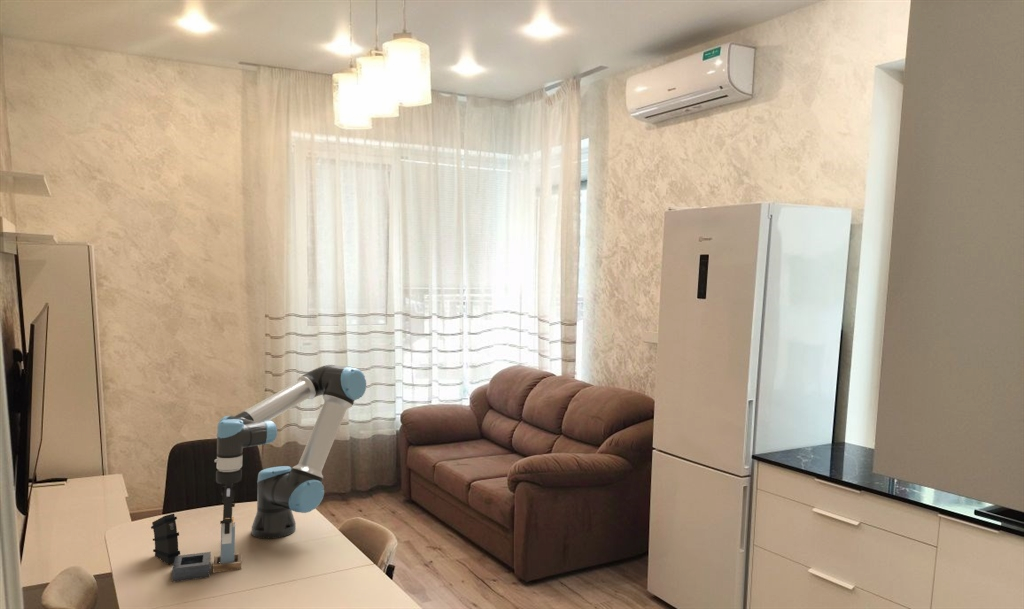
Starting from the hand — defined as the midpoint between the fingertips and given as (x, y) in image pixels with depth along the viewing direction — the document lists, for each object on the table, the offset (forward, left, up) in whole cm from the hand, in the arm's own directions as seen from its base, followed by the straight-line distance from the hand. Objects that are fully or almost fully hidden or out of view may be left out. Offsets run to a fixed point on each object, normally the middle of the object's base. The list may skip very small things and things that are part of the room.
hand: (227, 535), depth 203 cm
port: (+10, +2, -10) cm, 14 cm away
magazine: (+19, -13, -10) cm, 25 cm away
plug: (0, 0, -10) cm, 10 cm away
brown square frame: (0, 0, -10) cm, 10 cm away
